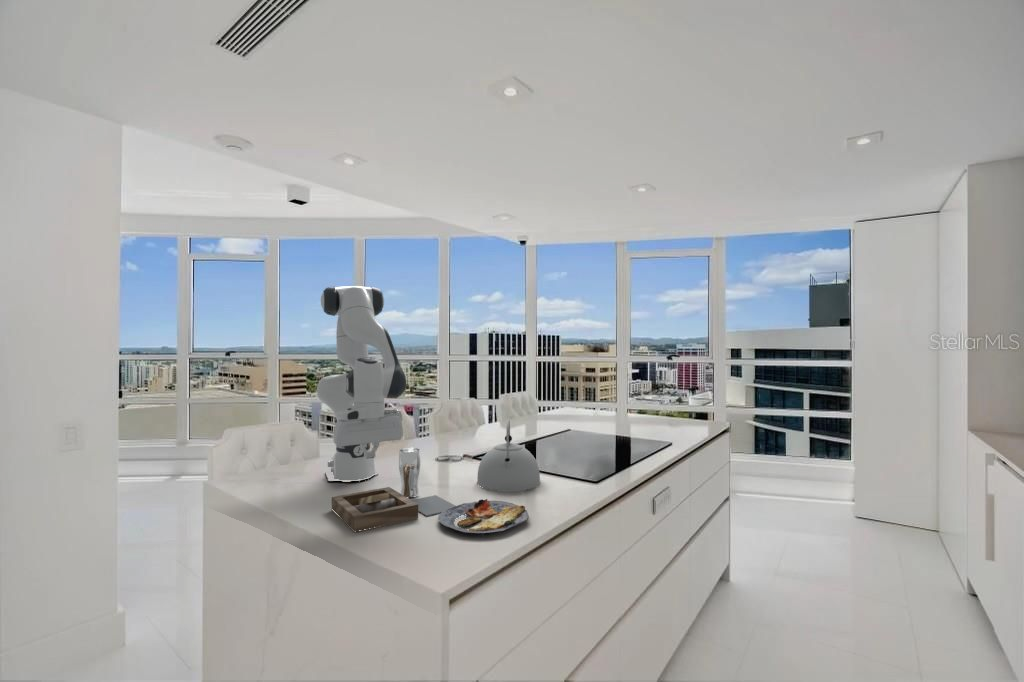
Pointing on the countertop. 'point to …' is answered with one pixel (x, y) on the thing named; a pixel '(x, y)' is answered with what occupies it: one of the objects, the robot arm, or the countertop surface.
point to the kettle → (508, 467)
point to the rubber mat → (432, 505)
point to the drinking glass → (409, 471)
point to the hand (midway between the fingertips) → (369, 458)
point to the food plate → (484, 516)
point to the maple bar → (374, 498)
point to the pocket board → (377, 515)
